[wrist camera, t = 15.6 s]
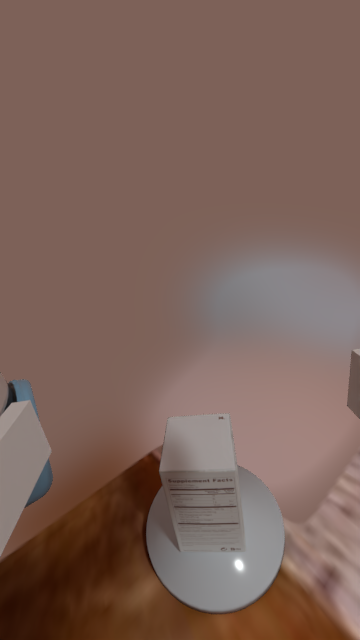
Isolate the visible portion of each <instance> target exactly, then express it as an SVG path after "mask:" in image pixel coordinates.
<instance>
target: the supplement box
mask: <svg viewBox="0 0 360 640" xmlns="http://www.w3.org/2000/svg"><path fill="white" fill-rule="evenodd" d="M159 473H160V477H161V481H162V485H163V489H164V492H165V497H166V501H167V505H168V509H169V512H170V516H171V520H172V524H173V528H174V532H175V535H176V539H177V543H178V546H179V550H180V552H246V542H245V530H244V520H243V511H242V503H241V493H240V484H239V476H238V468H237V460H236V453H235V446H234V440H233V432H232V426H231V418H230V414H208V415H196V416H195V415H194V416H180V417H169V418H168V420H167V425H166V431H165V437H164V443H163V449H162V455H161V461H160V468H159Z"/></svg>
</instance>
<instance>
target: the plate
mask: <svg viewBox="0 0 360 640" xmlns="http://www.w3.org/2000/svg"><path fill="white" fill-rule="evenodd" d="M237 468H238V476H239V484H240V493H241V503H242V511H243V520H244V530H245V542H246V552H180V550H179V546H178V543H177V539H176V535H175V532H174V528H173V524H172V520H171V516H170V512H169V509H168V505H167V501H166V497H165V492H164V489H163V486H162V487H161V489H160V490H159V491H158V493H157V495H156V496H155V498H154V500H153V503H152V505H151V507H150V511H149V514H148V519H147V527H146V538H147V547H148V552H149V556H150V559H151V562H152V565H153V568H154V570H155V572H156V574H157V576H158V578H159V580H160V581H161V583H162V584H163V586H164V587H165V588H166V589H167V590H168V592H169V593H170V594H171V595H172V596H173V597H174V598H176V599H177V600H178V601H179V602H181V603H182V604H184V605H186V606H188V607H189V608H191V609H194V610H197V611H199V612H203V613H209V614H227V613H233V612H237V611H239V610H242V609H245V608H246V607H248V606H250V605H252V604H253V603H255V602H256V601H257V600H258V599H260V598H261V597H262V596H263V595H264V594H265V593H266V592H267V590H268V589H269V588H270V587H271V585H272V584H273V582H274V580H275V579H276V577H277V574H278V572H279V570H280V567H281V563H282V560H283V555H284V525H283V519H282V515H281V512H280V509H279V506H278V504H277V502H276V500H275V498H274V496H273V494H272V493H271V492H270V490H269V489H268V487H267V486H266V485H265V484H264V483H263V482H262V481H261V480H260V479H259V478H258V477H257V476H256V475H254V474H253V473H251V472H250V471H248V470H247V469H244V468H243V467H240V466H238V465H237Z"/></svg>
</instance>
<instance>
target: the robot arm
mask: <svg viewBox="0 0 360 640" xmlns="http://www.w3.org/2000/svg"><path fill="white" fill-rule="evenodd" d="M347 406H348V407H349V408H350V409H351V410H352V411H353V412H354V414H355V415H356V416H357V417H358V418H359V419H360V349H355V350H352V354H351V366H350V378H349V389H348V402H347ZM50 453H51V449H50V446H49V444H48V441H47V439H46V437H45V434H44V432H43V430H42V427H41V425H40V421H39V417H38V413H37V409H36V405H35V400H34V396H33V392H32V388H31V384H30V382H29V381H28V380H24V379H22V380H13V381H10V382H9V383H7V381H6V380H5V379H4V377H3V375H2V374H1V373H0V556H1V554H2V552H3V550H4V548H5V546H6V544H7V542H8V540H9V538H10V536H11V534H12V532H13V529H14V528H15V526H16V523H17V521H18V519H19V517H20V515H21V513H22V511H23V509H24V508H25V507H27V506H28V505H30V504H32V503H33V502H35V501H37V500H38V499H40V498H41V497H43V496H44V495H45V494H46V493H47V492H48V490H49V489H50V487H51V484H52V481H53V474H52V470H51V466H50V462H49V456H50Z"/></svg>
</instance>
